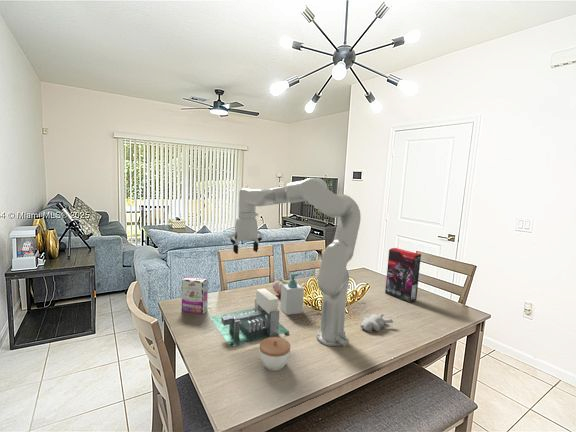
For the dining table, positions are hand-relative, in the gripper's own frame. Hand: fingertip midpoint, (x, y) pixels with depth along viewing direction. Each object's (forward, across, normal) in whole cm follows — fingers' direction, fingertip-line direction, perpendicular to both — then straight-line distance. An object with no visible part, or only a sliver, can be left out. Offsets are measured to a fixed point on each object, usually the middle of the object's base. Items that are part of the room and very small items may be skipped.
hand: (245, 252), depth 140 cm
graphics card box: (+31, -90, +18) cm, 97 cm away
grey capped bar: (+24, +6, +17) cm, 30 cm away
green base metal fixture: (+30, +3, +11) cm, 33 cm away
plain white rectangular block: (+20, -3, +17) cm, 27 cm away
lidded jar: (+31, +6, +41) cm, 51 cm away
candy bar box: (+31, +20, -12) cm, 38 cm away
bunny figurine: (+31, -48, +37) cm, 68 cm away
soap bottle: (+31, -23, +6) cm, 39 cm away
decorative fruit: (+31, -28, -13) cm, 43 cm away
